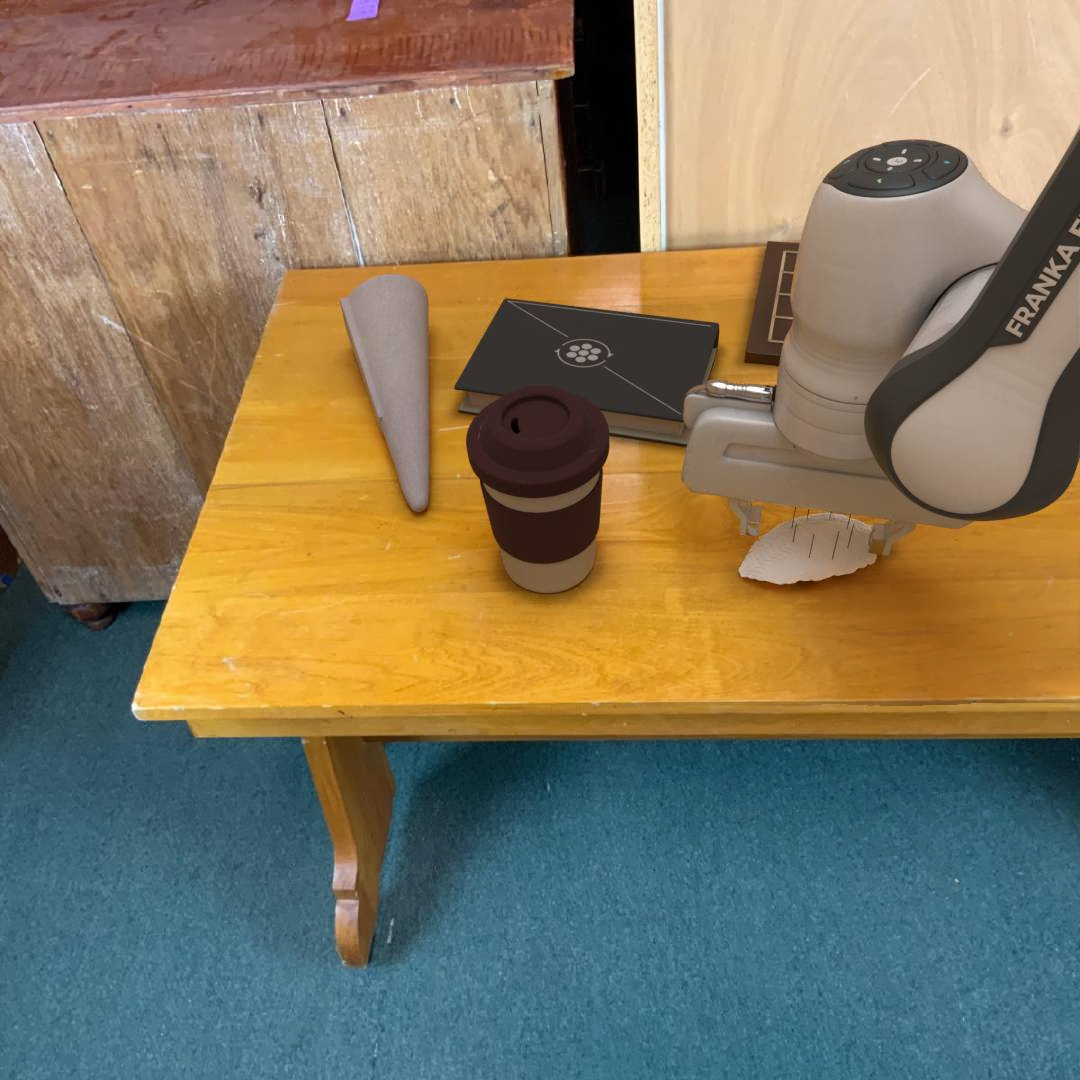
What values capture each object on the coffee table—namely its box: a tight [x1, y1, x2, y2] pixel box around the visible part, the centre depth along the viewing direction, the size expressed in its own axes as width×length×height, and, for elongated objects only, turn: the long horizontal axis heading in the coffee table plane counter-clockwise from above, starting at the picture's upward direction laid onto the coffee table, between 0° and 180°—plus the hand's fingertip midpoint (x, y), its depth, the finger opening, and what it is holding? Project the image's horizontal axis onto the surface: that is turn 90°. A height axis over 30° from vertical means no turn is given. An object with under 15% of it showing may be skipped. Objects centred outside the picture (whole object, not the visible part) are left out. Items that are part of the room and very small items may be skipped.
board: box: [744, 240, 800, 366], centre depth 95 cm, size 20×20×1 cm
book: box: [453, 297, 720, 447], centre depth 90 cm, size 22×15×3 cm
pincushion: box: [737, 507, 878, 586], centre depth 72 cm, size 12×6×6 cm, turn 104°
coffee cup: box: [465, 385, 610, 594], centre depth 70 cm, size 10×10×15 cm
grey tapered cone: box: [339, 273, 431, 513], centre depth 87 cm, size 8×9×26 cm
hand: (812, 538), depth 72 cm, fingers open, 8 cm apart
